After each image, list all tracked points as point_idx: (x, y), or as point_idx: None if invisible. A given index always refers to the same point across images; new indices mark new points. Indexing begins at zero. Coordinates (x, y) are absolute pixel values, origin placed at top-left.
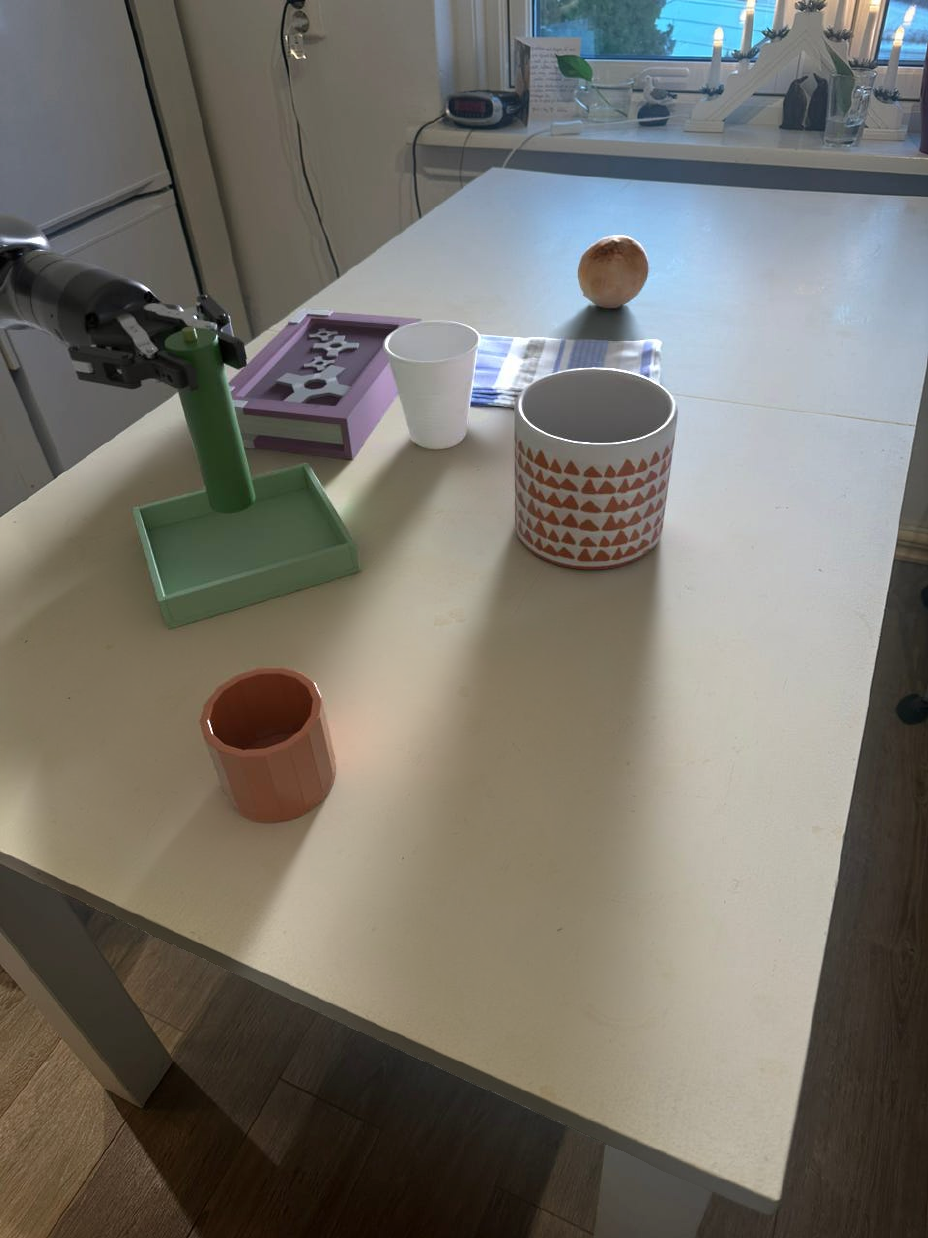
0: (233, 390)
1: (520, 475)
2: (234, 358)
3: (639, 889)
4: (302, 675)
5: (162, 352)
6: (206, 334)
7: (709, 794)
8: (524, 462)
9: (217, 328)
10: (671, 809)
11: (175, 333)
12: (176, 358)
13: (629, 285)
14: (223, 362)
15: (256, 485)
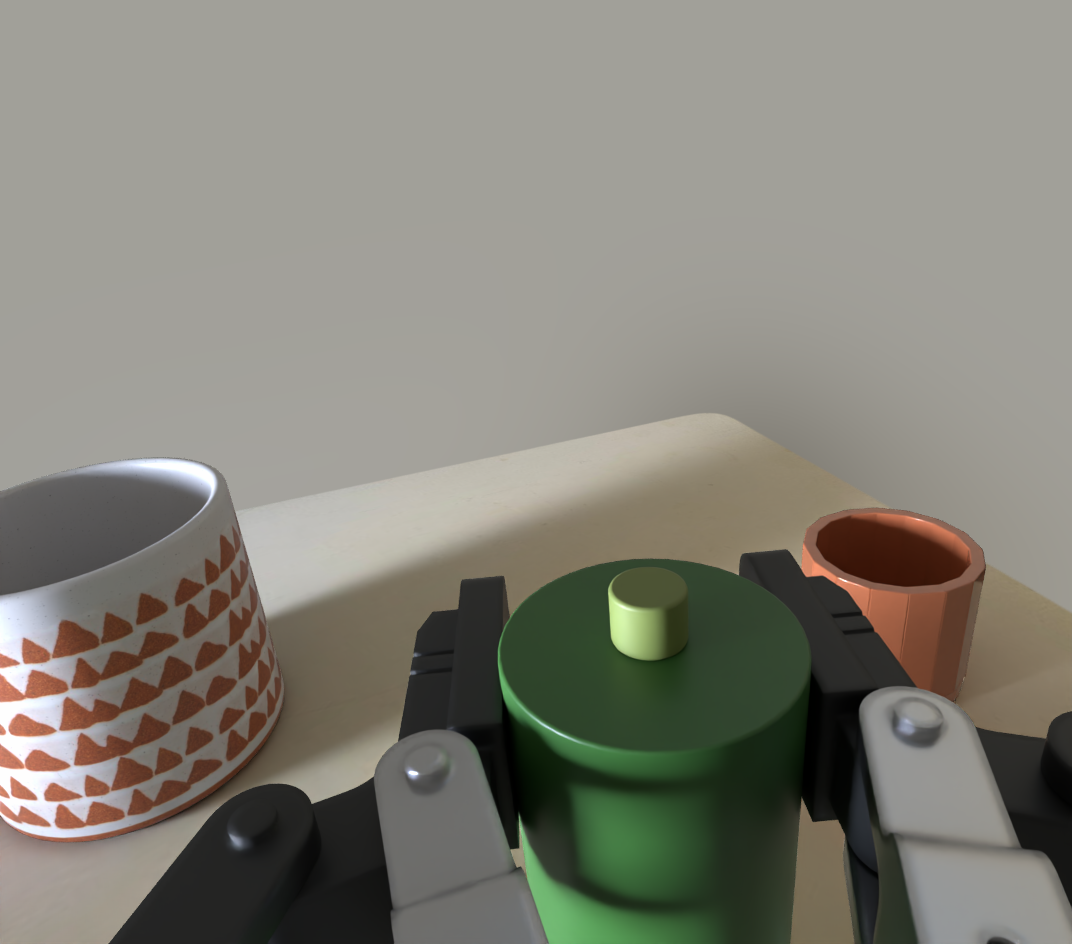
0: None
1: (203, 646)
2: None
3: (638, 479)
4: (813, 557)
5: (840, 680)
6: (553, 629)
7: (526, 491)
8: (206, 603)
9: (372, 808)
10: (560, 495)
11: (688, 741)
12: (790, 598)
13: None
14: None
15: None
